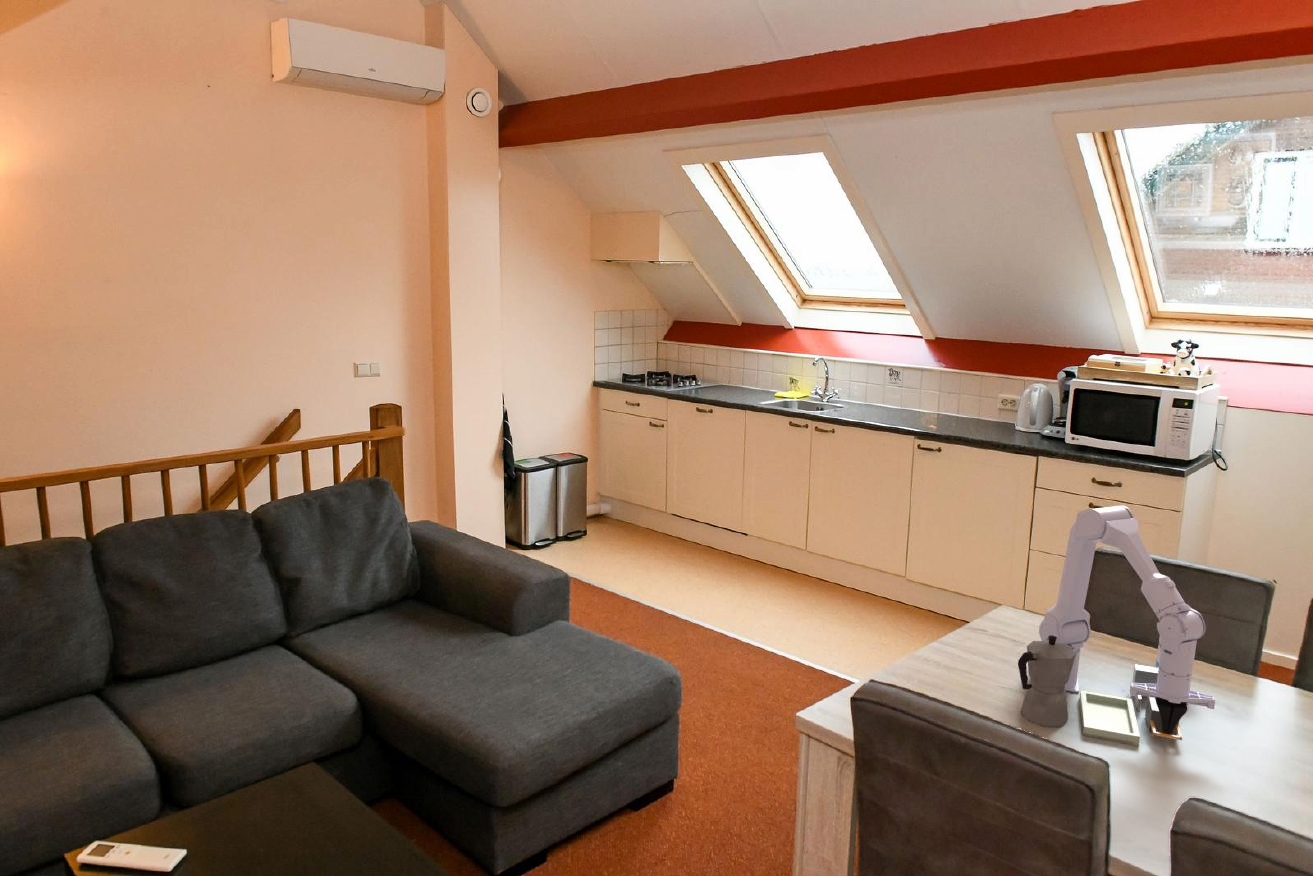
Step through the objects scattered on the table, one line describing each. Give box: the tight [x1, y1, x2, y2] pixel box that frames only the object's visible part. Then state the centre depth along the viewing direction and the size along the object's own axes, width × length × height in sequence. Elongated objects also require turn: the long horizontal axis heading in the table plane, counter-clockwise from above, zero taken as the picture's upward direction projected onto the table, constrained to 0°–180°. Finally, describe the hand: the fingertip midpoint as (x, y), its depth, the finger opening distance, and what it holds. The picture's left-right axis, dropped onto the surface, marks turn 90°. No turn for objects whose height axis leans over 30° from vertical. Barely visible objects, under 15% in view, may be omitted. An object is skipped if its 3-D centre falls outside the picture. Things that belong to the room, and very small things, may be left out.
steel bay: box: [1131, 663, 1158, 713], centre depth 200 cm, size 8×11×6 cm
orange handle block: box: [1144, 697, 1183, 741], centre depth 188 cm, size 5×12×5 cm, turn 159°
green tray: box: [1078, 689, 1141, 747], centre depth 193 cm, size 10×17×2 cm, turn 158°
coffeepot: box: [1017, 635, 1076, 728], centre depth 192 cm, size 15×9×18 cm, turn 116°
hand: (1166, 734), depth 184 cm, fingers closed
